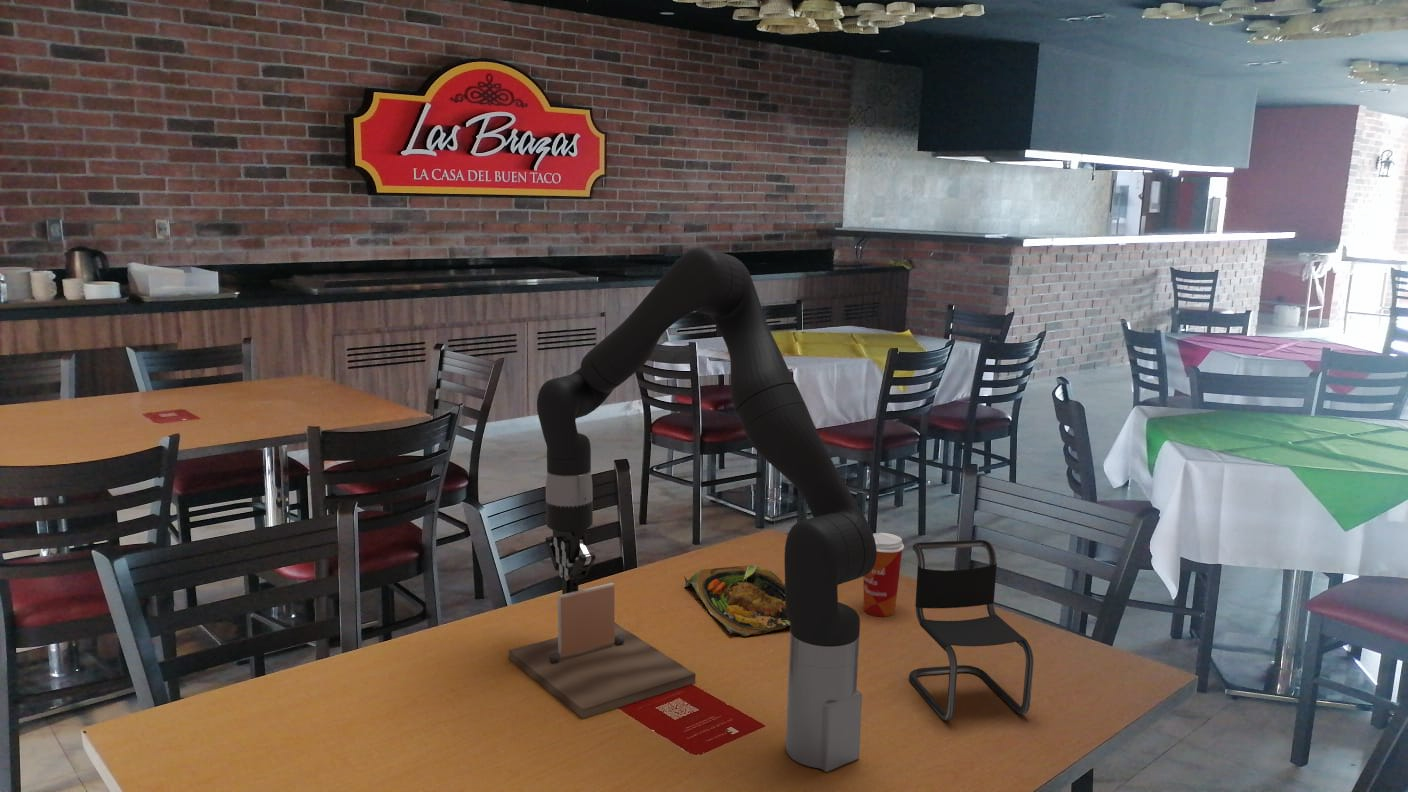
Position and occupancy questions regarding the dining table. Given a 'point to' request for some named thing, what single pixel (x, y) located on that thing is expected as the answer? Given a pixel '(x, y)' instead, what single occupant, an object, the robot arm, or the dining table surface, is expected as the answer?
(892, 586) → the paper cup
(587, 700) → the walnut board
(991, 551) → the chair
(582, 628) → the tile
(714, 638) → the dining table surface
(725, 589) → the prepared meal
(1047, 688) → the dining table surface
